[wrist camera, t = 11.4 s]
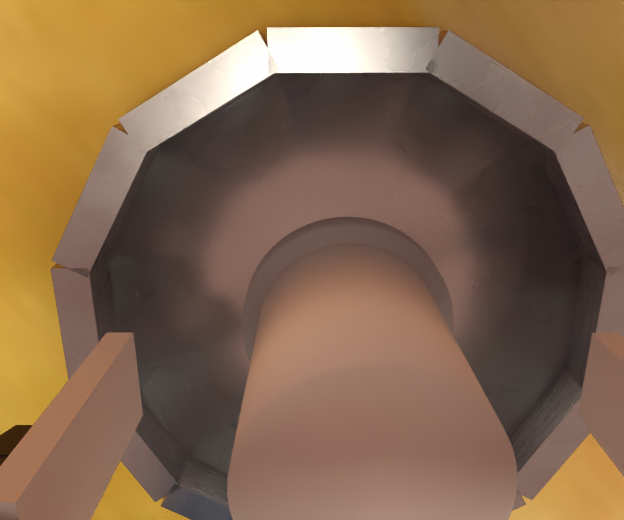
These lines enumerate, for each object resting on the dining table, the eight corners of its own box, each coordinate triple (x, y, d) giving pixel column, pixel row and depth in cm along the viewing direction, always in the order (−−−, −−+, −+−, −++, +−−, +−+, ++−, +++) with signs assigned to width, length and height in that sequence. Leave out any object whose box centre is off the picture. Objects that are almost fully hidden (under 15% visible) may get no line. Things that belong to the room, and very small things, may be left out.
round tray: (49, 33, 18) (11, 27, 15) (644, 32, 18) (693, 26, 16) (117, 511, 24) (97, 557, 22) (560, 509, 24) (587, 555, 22)
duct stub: (249, 400, 21) (209, 622, 13) (240, 216, 19) (185, 336, 10) (438, 399, 21) (525, 620, 13) (453, 216, 19) (570, 334, 10)
